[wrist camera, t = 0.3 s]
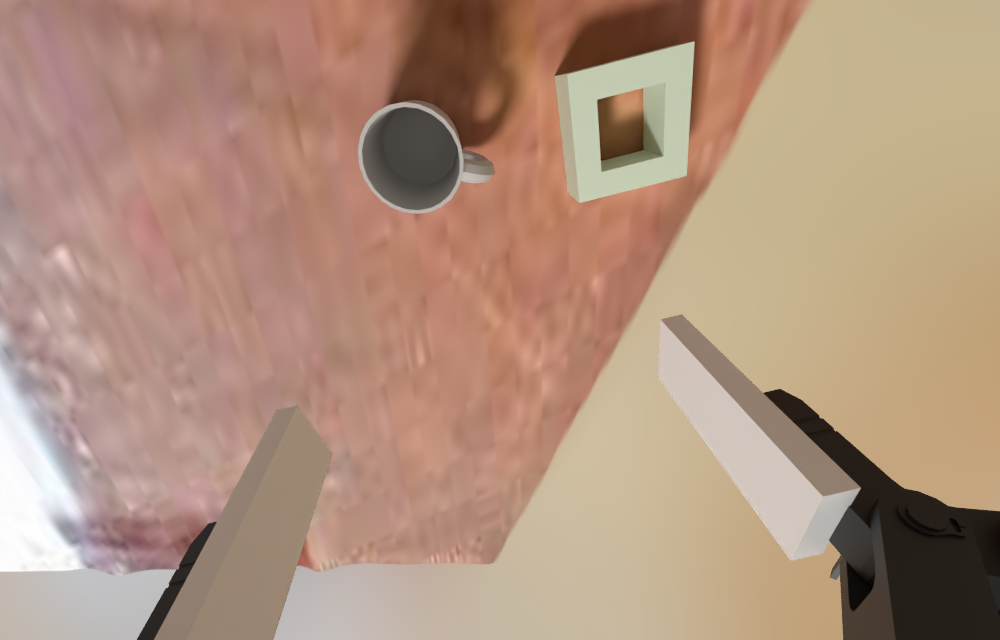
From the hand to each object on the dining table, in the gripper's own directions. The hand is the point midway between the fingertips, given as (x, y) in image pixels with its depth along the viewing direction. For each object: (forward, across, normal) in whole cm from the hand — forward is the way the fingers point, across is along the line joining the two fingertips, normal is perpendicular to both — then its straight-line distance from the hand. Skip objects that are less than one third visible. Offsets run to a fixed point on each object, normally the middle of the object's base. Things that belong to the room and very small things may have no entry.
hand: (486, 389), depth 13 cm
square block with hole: (+27, +15, +3) cm, 31 cm away
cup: (+27, -1, +5) cm, 28 cm away
